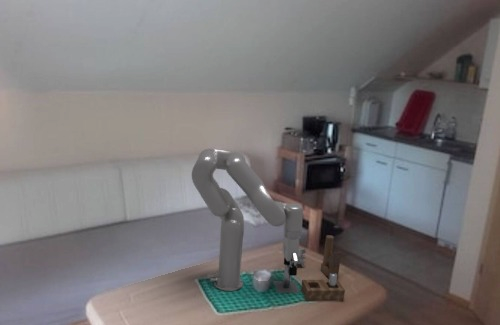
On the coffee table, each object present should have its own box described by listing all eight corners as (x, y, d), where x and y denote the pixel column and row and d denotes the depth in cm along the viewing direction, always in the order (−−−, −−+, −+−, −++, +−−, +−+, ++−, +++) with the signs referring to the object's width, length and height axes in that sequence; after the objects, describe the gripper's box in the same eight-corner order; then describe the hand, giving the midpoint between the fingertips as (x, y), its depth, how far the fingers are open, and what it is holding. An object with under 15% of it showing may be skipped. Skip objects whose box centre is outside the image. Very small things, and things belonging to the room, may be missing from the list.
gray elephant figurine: (290, 269, 210) (292, 255, 208) (283, 257, 221) (285, 243, 219) (308, 269, 212) (310, 255, 210) (300, 257, 224) (302, 243, 221)
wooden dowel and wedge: (330, 281, 202) (335, 244, 197) (320, 270, 212) (324, 234, 207) (338, 280, 203) (342, 244, 199) (327, 269, 213) (331, 234, 209)
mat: (277, 293, 187) (277, 292, 187) (272, 281, 197) (272, 280, 197) (300, 293, 189) (300, 292, 189) (294, 281, 199) (294, 280, 199)
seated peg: (328, 297, 187) (331, 276, 185) (326, 293, 190) (329, 272, 188) (335, 297, 188) (338, 276, 186) (333, 293, 191) (335, 272, 188)
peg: (283, 288, 191) (285, 267, 189) (282, 284, 194) (284, 263, 192) (290, 288, 192) (292, 267, 189) (288, 284, 195) (291, 263, 192)
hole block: (306, 301, 183) (307, 290, 182) (300, 290, 192) (302, 279, 190) (343, 301, 185) (344, 290, 184) (336, 290, 194) (337, 279, 193)
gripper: (279, 225, 195) (277, 261, 199) (288, 241, 178) (285, 279, 182) (296, 224, 196) (293, 260, 200) (306, 240, 179) (303, 279, 183)
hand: (290, 269), depth 191 cm, fingers open, 9 cm apart
